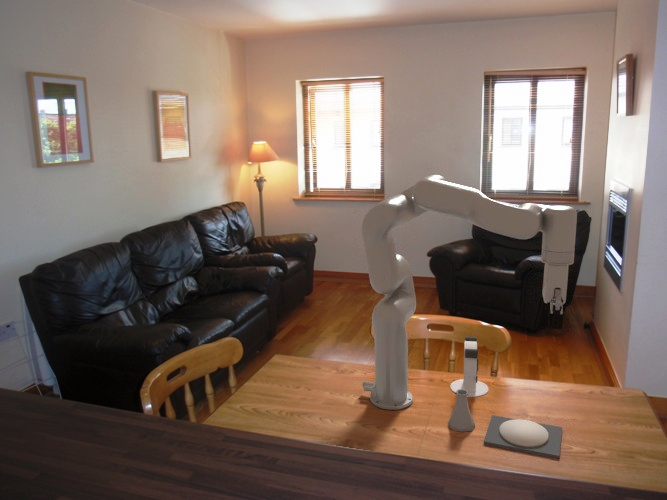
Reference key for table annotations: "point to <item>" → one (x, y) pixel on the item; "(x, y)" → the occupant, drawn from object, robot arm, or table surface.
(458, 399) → the flask
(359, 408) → the table surface
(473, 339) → the white upright piece
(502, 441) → the saucer mat
